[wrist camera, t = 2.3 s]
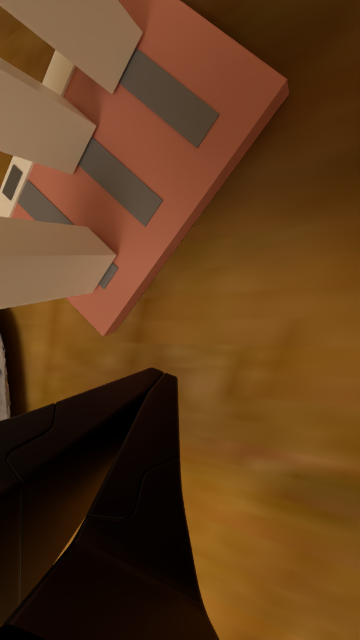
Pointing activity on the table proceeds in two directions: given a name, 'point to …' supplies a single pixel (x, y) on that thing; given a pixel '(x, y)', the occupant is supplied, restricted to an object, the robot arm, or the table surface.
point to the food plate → (3, 386)
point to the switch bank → (149, 147)
